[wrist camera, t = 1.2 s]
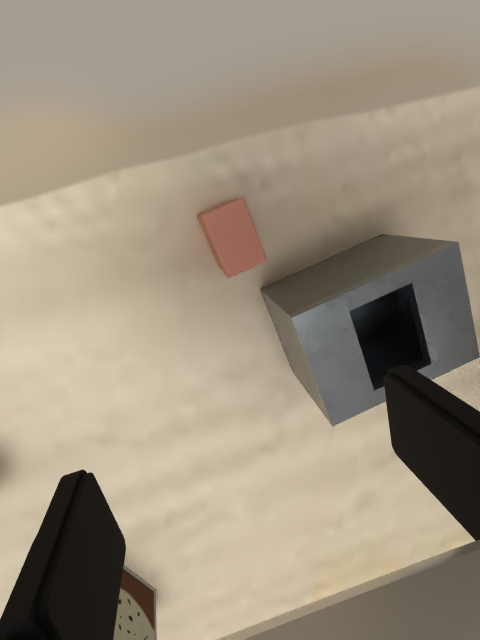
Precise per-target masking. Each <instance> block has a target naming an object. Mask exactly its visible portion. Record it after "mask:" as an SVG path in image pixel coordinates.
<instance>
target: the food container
mask: <svg viewBox="0 0 480 640" xmlns="http://www.w3.org/2000/svg"><path fill="white" fill-rule="evenodd" d="M113 640H157V638H156V589H155V588H153V587H152V586H151V585H149V584H148V583H147V582H145V581H144V580H143V579H141V578H140V577H139V576H138V575H136V574H135V573H134V572H132V571H131V570H130V569H128V568H127V567H126V566H123V573H122V580H121V588H120V595H119V602H118V609H117V616H116V623H115V631H114V638H113Z"/></svg>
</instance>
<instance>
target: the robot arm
mask: <svg viewBox="0 0 480 640" xmlns="http://www.w3.org/2000/svg"><path fill="white" fill-rule="evenodd" d="M384 387H385V395H386V403H387V411H388V419H389V427H390V435H391V442H392V447H393V449H394V451H395V453H396V455H397V456H398V457H399V458H400V459H401V460H402V461H403V462H404V463H405V465H406V466H407V467H408V468H409V469H410V470H411V471H412V472H413V473H414V474H415V475H416V476H417V478H418V479H419V480H420V481H421V482H422V483H423V484H424V485H425V486H426V487H427V488H428V489H429V491H430V492H431V493H432V494H433V495H434V496H435V497H436V498H437V499H438V500H439V501H440V502H441V503H442V505H443V506H444V507H445V508H446V509H447V510H448V511H449V512H450V513H451V514H452V515H453V516H454V518H455V519H456V520H457V521H458V522H459V523H460V524H461V525H462V526H463V527H464V528H465V529H466V531H467V532H468V533H469V534H470V535H471V536H472V537H473V538H474V539H475V540H476V541H475V542H472V543H469V544H466V545H464V546H461V547H458V548H455V549H453V550H450V551H447V552H445V553H442V554H439V555H437V556H434V557H431V558H429V559H426V560H423V561H421V562H418V563H415V564H413V565H410V566H408V567H405V568H402V569H400V570H397V571H394V572H392V573H389V574H386V575H384V576H381V577H378V578H376V579H373V580H370V581H368V582H365V583H363V584H360V585H357V586H355V587H352V588H349V589H347V590H344V591H342V592H339V593H336V594H334V595H331V596H329V597H326V598H323V599H321V600H318V601H316V602H313V603H310V604H308V605H305V606H303V607H300V608H297V609H295V610H292V611H290V612H287V613H284V614H282V615H279V616H277V617H274V618H271V619H269V620H266V621H264V622H261V623H259V624H256V625H253V626H251V627H248V628H246V629H243V630H241V631H238V632H235V633H233V634H230V635H228V636H225V637H223V638H220V639H218V640H480V412H479V411H478V410H476V409H475V408H473V407H471V406H470V405H468V404H467V403H465V402H464V401H462V400H461V399H459V398H458V397H456V396H454V395H453V394H451V393H450V392H448V391H447V390H445V389H444V388H442V387H441V386H439V385H438V384H436V383H434V382H433V381H431V380H430V379H428V378H427V377H425V376H424V375H422V374H421V373H419V372H418V371H416V370H414V369H413V368H411V367H410V366H408V365H403V366H400V367H397V368H394V369H391V370H389V371H388V373H387V376H385V377H384ZM125 551H126V545H125V540H124V537H123V534H122V532H121V530H120V528H119V526H118V524H117V522H116V520H115V518H114V516H113V514H112V512H111V510H110V508H109V505H108V503H107V501H106V499H105V497H104V495H103V493H102V491H101V489H100V487H99V485H98V483H97V481H96V478H95V476H94V475H93V473H87V472H86V471H85V470H80V471H77V472H74V473H71V474H68V475H65V476H63V477H62V478H61V479H60V482H59V484H58V486H57V489H56V491H55V494H54V496H53V498H52V501H51V503H50V505H49V508H48V510H47V513H46V515H45V517H44V520H43V522H42V524H41V527H40V529H39V532H38V534H37V536H36V538H35V540H34V542H33V544H32V546H31V548H30V551H29V553H28V555H27V558H26V560H25V562H24V565H23V567H22V569H21V572H20V574H19V577H18V579H17V581H16V584H15V586H14V588H13V591H12V593H11V595H10V598H9V600H8V602H7V605H6V607H5V610H4V612H3V614H2V617H1V619H0V640H113V638H114V631H115V623H116V616H117V609H118V602H119V595H120V588H121V580H122V573H123V566H124V559H125Z"/></svg>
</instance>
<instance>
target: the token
mask: <svg viewBox="0 0 480 640" xmlns="http://www.w3.org/2000/svg"><path fill="white" fill-rule="evenodd" d="M197 217H198V219H199V222H200V224H201V226H202V228H203V231H204V233H205V235H206V238H207V240H208V242H209V245H210V247H211V249H212V252H213V254H214V256H215V258H216V261H217V263H218V265H219V267H220V269H221V270H222V271H223V272H224V274H225V275H226V276H227V277H228V278H229V277H232V276H234V275H236V274H238V273H241V272H243V271H245V270H247V269H250V268H252V267H254V266H256V265H259V264H261V263H263V262H265V261H267V259H266V257H265V254H264V251H263V249H262V246H261V243H260V241H259V238H258V236H257V233H256V230H255V228H254V225H253V222H252V220H251V217H250V215H249V212H248V209H247V207H246V204H245V201H244V199H243V198H241V199H236V200H232V201H229V202H227V203H224V204H222V205H220V206H218V207H215V208H213V209H211V210H208V211H206V212H204V213H202V214H199V215H197Z"/></svg>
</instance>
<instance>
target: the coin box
mask: <svg viewBox="0 0 480 640" xmlns="http://www.w3.org/2000/svg"><path fill="white" fill-rule="evenodd" d="M260 291H261V293H262V296H263V298H264V301H265V303H266V306H267V308H268V311H269V313H270V316H271V318H272V321H273V323H274V326H275V328H276V331H277V333H278V336H279V338H280V341H281V343H282V346H283V348H284V351H285V353H286V356H287V358H288V361H289V363H290V366H291V368H292V371H293V373H294V375H295V376H296V377H297V379H298V380H299V381H300V383H301V384H302V385H303V387H304V388H305V389H306V391H307V392H308V394H309V395H310V396H311V398H312V399H313V400H314V402H315V403H316V404H317V406H318V407H319V409H320V410H321V411H322V413H323V414H324V415H325V417H326V418H327V419H328V421H329V422H330V423H331V425H332V426H334V425H336V424H339V423H341V422H343V421H345V420H347V419H349V418H351V417H353V416H356V415H358V414H360V413H362V412H364V411H366V410H368V409H370V408H373V407H375V406H377V405H379V404H381V403H383V402H385V401H386V395H385V387H384V377H385V376H387V373H388V371H389V370H391V369H394V368H397V367H400V366H403V365H408V366H410V367H411V368H413V369H414V370H416V371H418V372H419V373H421V374H422V375H424V376H425V377H427V378H428V379H430V380H432V379H434V378H436V377H438V376H440V375H443V374H445V373H447V372H449V371H451V370H453V369H455V368H457V367H460V366H462V365H464V364H466V363H468V362H470V361H472V360H474V359H477V358H479V357H480V356H479V351H478V346H477V340H476V335H475V329H474V324H473V319H472V313H471V308H470V302H469V297H468V291H467V286H466V281H465V275H464V270H463V264H462V259H461V253H460V248H459V243H458V242H453V241H443V240H433V239H423V238H414V237H404V236H394V235H384V234H382V235H380V236H377V237H375V238H373V239H371V240H368V241H366V242H364V243H362V244H360V245H357V246H355V247H353V248H351V249H348V250H346V251H344V252H342V253H339V254H337V255H335V256H333V257H331V258H328V259H326V260H324V261H322V262H319V263H317V264H315V265H313V266H311V267H308V268H306V269H304V270H302V271H299V272H297V273H295V274H293V275H291V276H288V277H286V278H284V279H282V280H279V281H277V282H275V283H273V284H271V285H268V286H266V287H264V288H262V289H260Z"/></svg>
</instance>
